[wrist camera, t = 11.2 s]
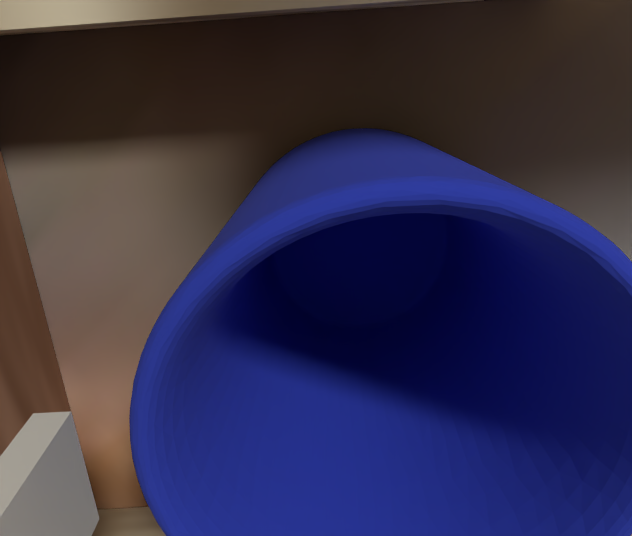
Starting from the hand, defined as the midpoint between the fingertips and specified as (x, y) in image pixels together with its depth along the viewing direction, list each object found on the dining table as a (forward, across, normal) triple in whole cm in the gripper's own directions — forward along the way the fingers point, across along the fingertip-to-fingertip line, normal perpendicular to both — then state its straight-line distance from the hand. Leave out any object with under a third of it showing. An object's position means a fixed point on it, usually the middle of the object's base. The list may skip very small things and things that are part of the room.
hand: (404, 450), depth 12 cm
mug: (+8, 0, 0) cm, 8 cm away
